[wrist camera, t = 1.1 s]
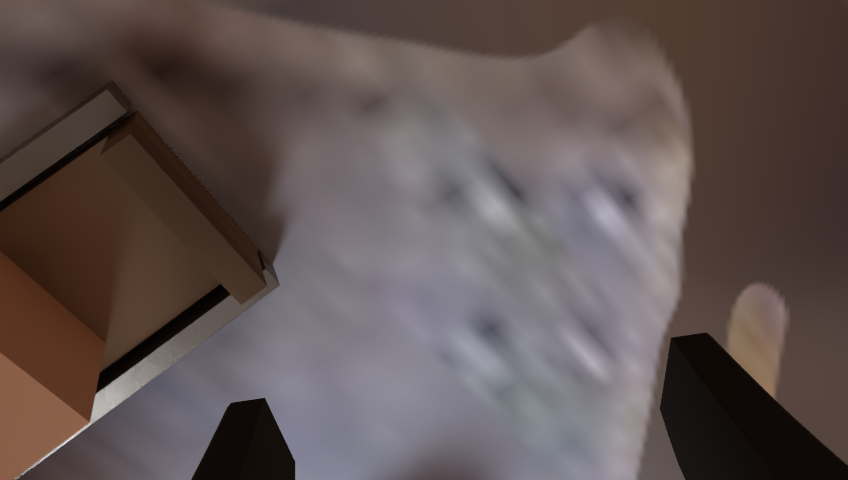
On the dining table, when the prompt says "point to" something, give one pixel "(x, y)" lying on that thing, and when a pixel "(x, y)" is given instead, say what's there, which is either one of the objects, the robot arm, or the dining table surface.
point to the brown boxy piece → (127, 238)
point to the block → (41, 371)
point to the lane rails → (174, 335)
